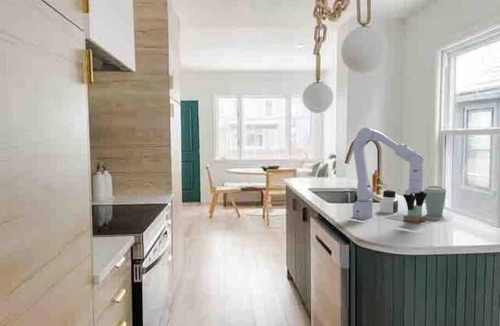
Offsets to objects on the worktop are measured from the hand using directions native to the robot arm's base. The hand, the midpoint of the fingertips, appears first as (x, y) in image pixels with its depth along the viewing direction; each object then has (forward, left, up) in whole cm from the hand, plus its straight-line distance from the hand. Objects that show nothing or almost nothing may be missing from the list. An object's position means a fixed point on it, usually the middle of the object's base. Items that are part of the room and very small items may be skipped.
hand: (414, 209), depth 192 cm
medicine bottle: (+12, +21, -7) cm, 25 cm away
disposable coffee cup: (+22, +2, -7) cm, 23 cm away
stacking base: (+2, +3, -7) cm, 7 cm away
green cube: (0, 0, -3) cm, 3 cm away
